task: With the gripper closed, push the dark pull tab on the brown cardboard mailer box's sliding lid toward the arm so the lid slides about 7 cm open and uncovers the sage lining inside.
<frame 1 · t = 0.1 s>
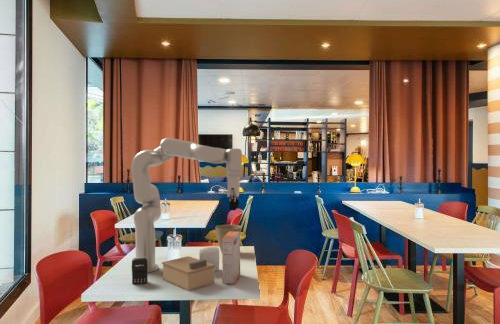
hand: (234, 208, 180), 31 cm above the table, tool pointing down, fingers open, 9 cm apart
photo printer: (209, 271, 181), on the table
battery charger: (139, 283, 164), on the table
lid: (188, 261, 166), point 9 cm above the table, slide at 0.0 cm
mailer box: (188, 281, 167), on the table
plant pot: (228, 254, 214), on the table
cracker box: (231, 279, 170), on the table
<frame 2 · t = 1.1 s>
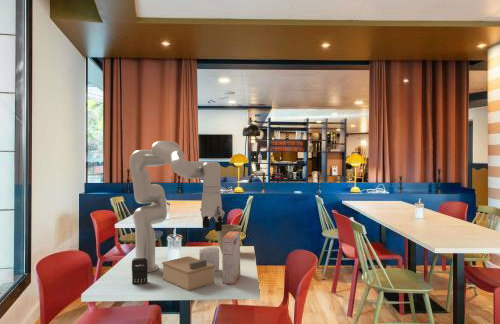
hand: (212, 229, 160), 25 cm above the table, tool pointing down, fingers open, 9 cm apart
nothing on the table moved.
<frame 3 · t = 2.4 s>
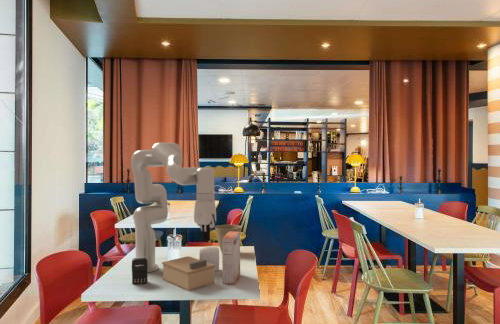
hand: (205, 240, 155), 21 cm above the table, tool pointing down, fingers closed
nothing on the table moved.
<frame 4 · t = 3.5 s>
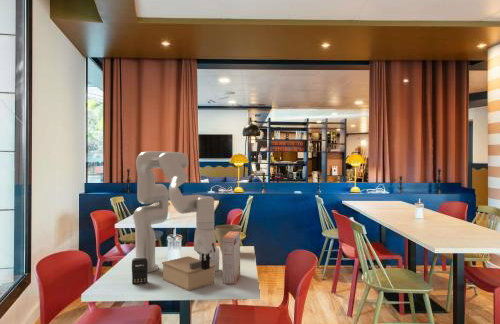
hand: (205, 268, 156), 9 cm above the table, tool pointing down, fingers closed
nothing on the table moved.
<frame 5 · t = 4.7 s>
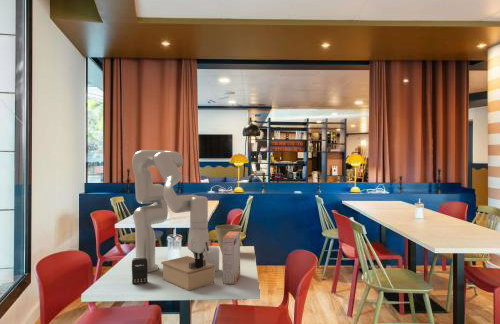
hand: (198, 267, 159), 9 cm above the table, tool pointing down, fingers closed
lid: (187, 261, 167), point 9 cm above the table, slide at 0.7 cm, touching gripper
everything else where it was.
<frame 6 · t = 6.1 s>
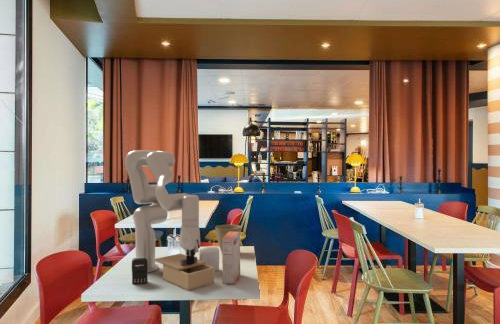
hand: (190, 263, 164), 9 cm above the table, tool pointing down, fingers closed
lid: (179, 258, 171), point 9 cm above the table, slide at 7.0 cm, touching gripper
everything else where it was.
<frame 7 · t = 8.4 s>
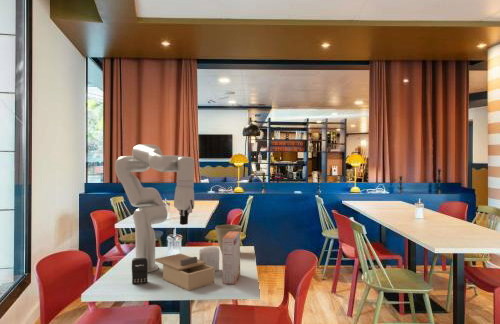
hand: (183, 224, 167), 26 cm above the table, tool pointing down, fingers closed
lid: (179, 258, 171), point 9 cm above the table, slide at 7.0 cm
everything else where it was.
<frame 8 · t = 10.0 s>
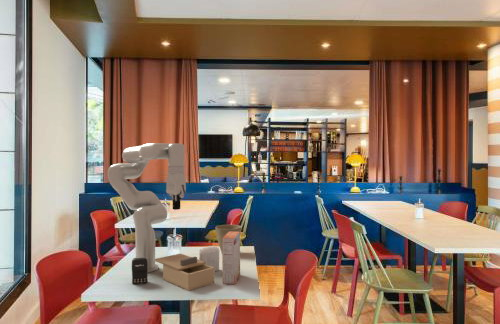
hand: (176, 209, 171), 32 cm above the table, tool pointing down, fingers closed
nothing on the table moved.
at the end: lid slide at 7.0 cm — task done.
